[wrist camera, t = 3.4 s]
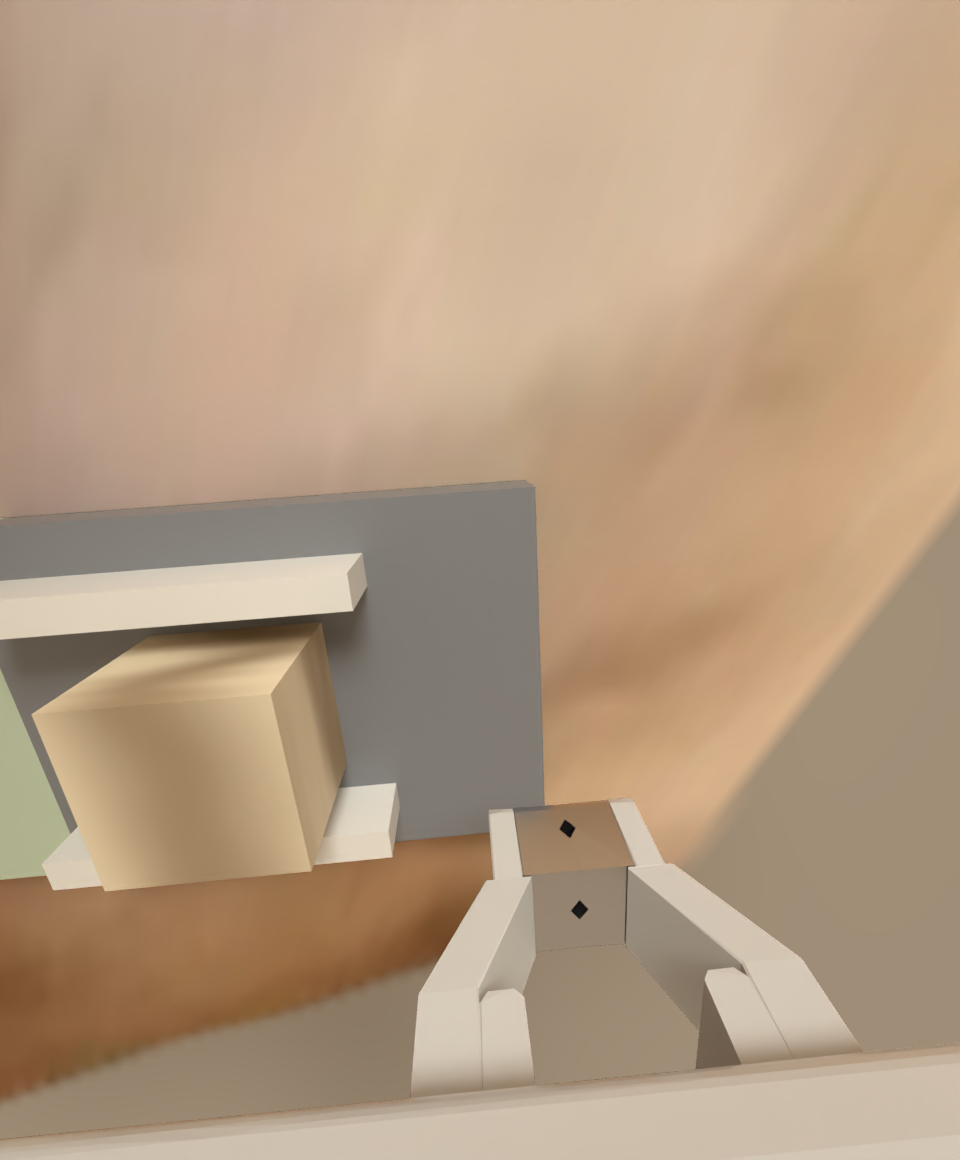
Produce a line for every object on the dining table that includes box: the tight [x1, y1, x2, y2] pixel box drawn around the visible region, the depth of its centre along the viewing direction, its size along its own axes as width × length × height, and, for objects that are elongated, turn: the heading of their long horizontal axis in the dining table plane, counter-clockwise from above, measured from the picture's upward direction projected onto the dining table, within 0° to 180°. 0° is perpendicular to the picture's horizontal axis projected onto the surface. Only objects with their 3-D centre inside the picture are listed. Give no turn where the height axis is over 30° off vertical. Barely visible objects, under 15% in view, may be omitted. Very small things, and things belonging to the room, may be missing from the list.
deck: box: [0, 480, 545, 842], centre depth 15 cm, size 31×12×2 cm, turn 94°
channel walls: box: [0, 553, 400, 890], centre depth 13 cm, size 10×9×2 cm
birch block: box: [31, 622, 347, 891], centre depth 13 cm, size 5×5×4 cm
